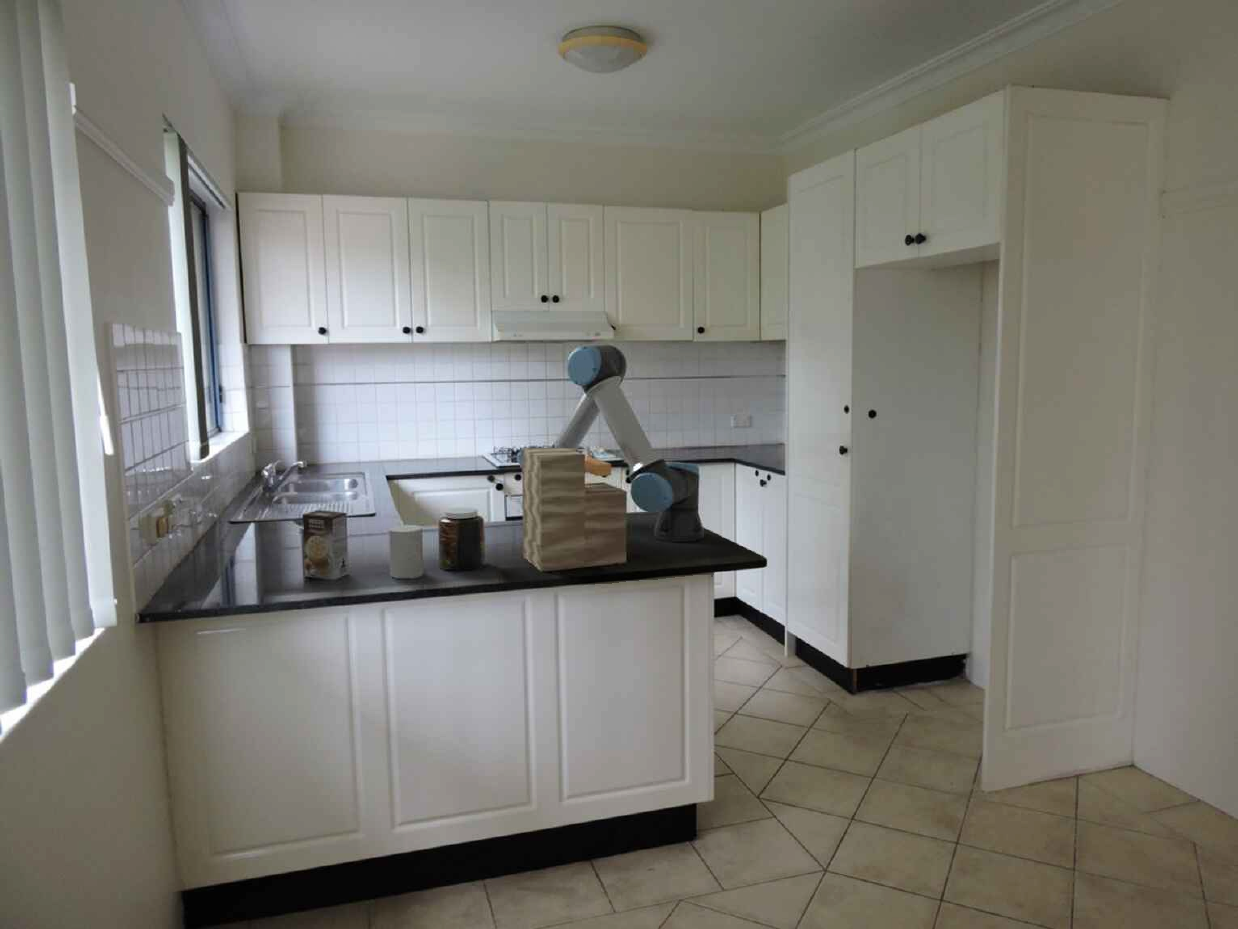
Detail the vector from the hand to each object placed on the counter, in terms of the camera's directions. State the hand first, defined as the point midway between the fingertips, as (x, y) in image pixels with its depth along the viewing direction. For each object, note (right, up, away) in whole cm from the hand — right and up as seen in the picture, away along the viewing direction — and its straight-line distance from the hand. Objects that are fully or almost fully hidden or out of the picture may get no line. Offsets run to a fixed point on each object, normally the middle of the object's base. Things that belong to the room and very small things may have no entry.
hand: (580, 451), depth 238 cm
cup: (-43, -32, -23) cm, 58 cm away
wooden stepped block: (-2, -30, -7) cm, 30 cm away
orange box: (+2, -5, -3) cm, 6 cm away
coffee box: (-63, -32, -24) cm, 75 cm away
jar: (-31, -31, -14) cm, 46 cm away
